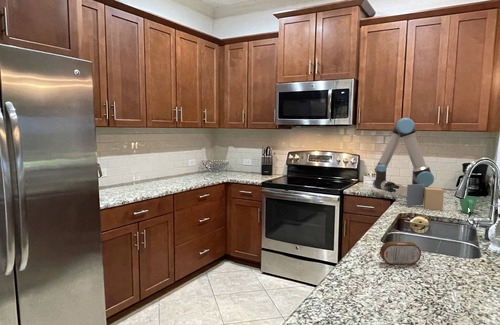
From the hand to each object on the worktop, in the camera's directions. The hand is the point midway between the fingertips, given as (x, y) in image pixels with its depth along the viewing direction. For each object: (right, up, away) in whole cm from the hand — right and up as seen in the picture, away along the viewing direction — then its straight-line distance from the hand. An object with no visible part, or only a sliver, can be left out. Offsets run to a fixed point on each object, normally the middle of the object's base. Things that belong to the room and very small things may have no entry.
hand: (407, 191), depth 230 cm
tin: (-52, -19, -104) cm, 118 cm away
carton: (+12, -11, -9) cm, 19 cm away
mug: (+28, -12, -21) cm, 37 cm away
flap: (+2, -9, +2) cm, 9 cm away
